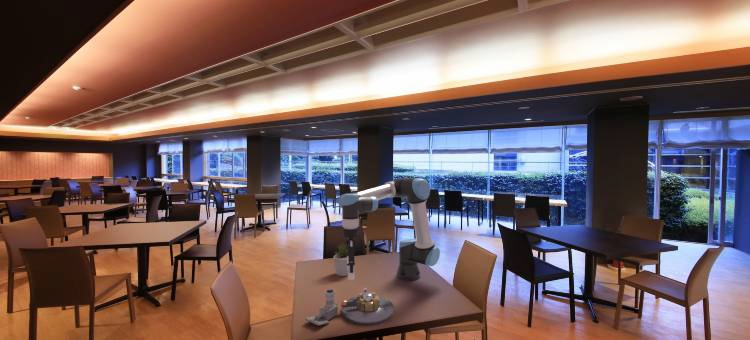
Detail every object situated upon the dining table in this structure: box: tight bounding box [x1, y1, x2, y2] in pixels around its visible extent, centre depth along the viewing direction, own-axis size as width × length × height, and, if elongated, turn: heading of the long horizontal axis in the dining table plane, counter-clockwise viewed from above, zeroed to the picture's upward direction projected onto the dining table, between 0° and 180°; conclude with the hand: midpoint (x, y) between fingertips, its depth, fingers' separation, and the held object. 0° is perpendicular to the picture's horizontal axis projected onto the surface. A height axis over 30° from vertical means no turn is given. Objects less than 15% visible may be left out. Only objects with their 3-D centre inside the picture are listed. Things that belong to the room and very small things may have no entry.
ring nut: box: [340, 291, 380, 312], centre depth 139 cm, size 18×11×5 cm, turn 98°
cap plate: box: [341, 287, 395, 326], centre depth 140 cm, size 25×25×8 cm
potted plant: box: [332, 242, 348, 277], centre depth 189 cm, size 13×14×20 cm
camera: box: [304, 288, 339, 326], centre depth 132 cm, size 9×12×15 cm
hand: (350, 274), depth 133 cm, fingers open, 12 cm apart
